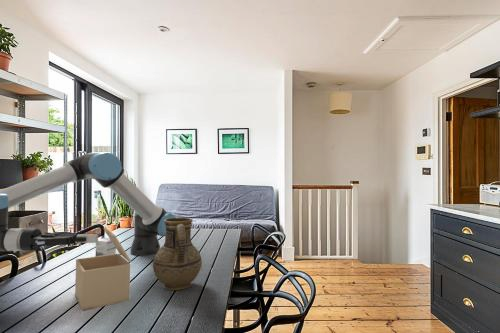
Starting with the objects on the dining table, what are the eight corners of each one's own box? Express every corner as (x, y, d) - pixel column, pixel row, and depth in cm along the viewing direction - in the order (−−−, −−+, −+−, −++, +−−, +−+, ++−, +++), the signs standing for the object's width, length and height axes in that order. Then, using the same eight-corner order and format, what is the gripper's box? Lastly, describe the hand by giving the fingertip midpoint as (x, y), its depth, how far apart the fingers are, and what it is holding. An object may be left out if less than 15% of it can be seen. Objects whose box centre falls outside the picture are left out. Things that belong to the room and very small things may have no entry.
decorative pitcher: (206, 294, 109) (207, 223, 110) (153, 300, 103) (155, 225, 104) (196, 274, 130) (197, 214, 130) (151, 279, 124) (153, 216, 124)
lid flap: (103, 228, 113) (104, 227, 113) (118, 252, 116) (120, 251, 116) (112, 235, 101) (114, 234, 101) (129, 262, 104) (131, 261, 104)
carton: (75, 293, 108) (76, 259, 108) (117, 285, 116) (118, 253, 116) (82, 310, 95) (82, 271, 95) (129, 300, 103) (130, 264, 104)
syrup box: (116, 272, 131) (116, 238, 132) (105, 277, 126) (106, 241, 126) (105, 271, 133) (106, 237, 133) (94, 275, 128) (95, 239, 128)
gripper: (34, 245, 113) (102, 244, 116) (12, 255, 100) (89, 253, 104) (35, 225, 113) (103, 224, 117) (13, 232, 101) (90, 231, 104)
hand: (97, 238), depth 110 cm, fingers closed
